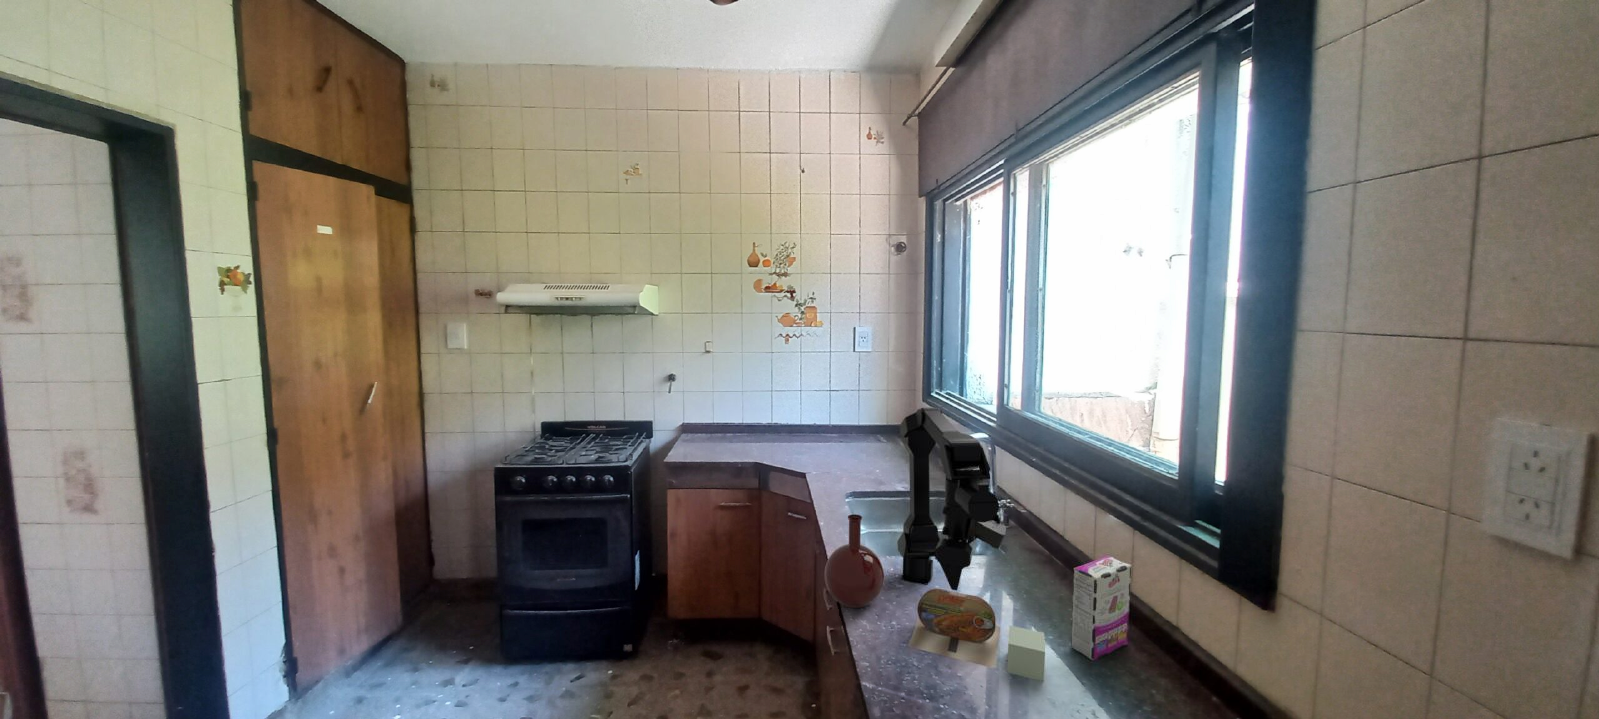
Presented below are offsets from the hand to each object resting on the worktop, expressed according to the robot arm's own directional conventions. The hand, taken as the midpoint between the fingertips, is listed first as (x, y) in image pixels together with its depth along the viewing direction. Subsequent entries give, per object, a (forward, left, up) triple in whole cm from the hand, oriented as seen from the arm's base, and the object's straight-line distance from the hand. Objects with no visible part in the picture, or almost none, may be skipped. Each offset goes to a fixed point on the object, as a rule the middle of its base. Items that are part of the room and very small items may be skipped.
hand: (957, 578), depth 105 cm
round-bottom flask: (-23, +4, -13) cm, 26 cm away
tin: (0, +1, -12) cm, 12 cm away
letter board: (0, 0, -12) cm, 12 cm away
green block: (+13, -4, -13) cm, 18 cm away
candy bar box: (+26, +9, -13) cm, 30 cm away
